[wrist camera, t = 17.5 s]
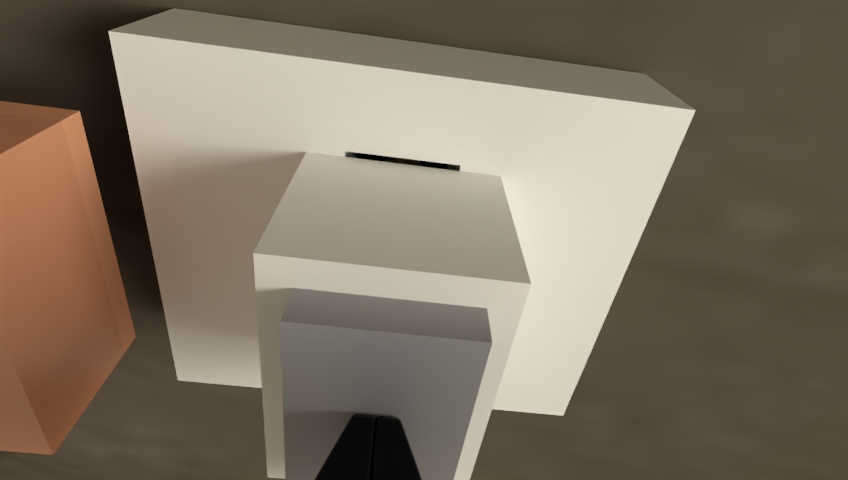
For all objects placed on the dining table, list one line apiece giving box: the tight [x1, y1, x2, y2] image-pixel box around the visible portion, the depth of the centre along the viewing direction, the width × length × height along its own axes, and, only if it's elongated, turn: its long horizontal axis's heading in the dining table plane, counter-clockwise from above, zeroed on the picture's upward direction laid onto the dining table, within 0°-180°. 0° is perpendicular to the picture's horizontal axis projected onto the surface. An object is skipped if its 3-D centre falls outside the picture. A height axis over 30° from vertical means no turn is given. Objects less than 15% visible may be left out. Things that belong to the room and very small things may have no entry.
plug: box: [253, 152, 531, 480], centre depth 12 cm, size 6×5×7 cm
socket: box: [108, 8, 696, 416], centre depth 14 cm, size 10×12×3 cm
